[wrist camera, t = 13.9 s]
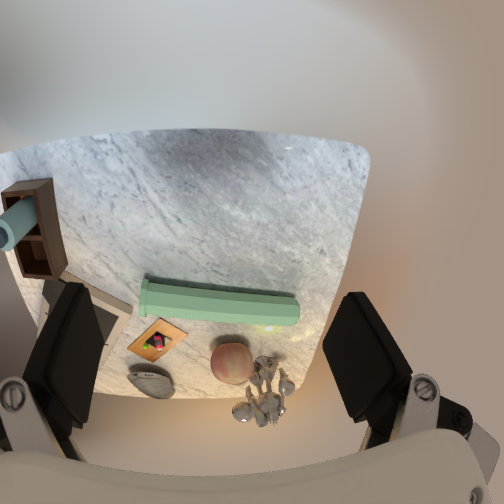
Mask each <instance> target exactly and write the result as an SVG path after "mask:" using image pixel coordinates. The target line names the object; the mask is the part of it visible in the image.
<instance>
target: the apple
mask: <svg viewBox="0 0 504 504" xmlns="http://www.w3.org/2000/svg"><path fill="white" fill-rule="evenodd" d="M253 366H254V361H253V357H252V354H251V352H250V351H249V349H248V348H247V347H246V346H244V345H243V344H240V343H228V344H222V345H220V346H218V347H217V348H216V349H215V350H214V352H213V354H212V356H211V369H212V372H213V374H214V376H215V377H216V378H217V379H218V380H220V381H222V382H224V383H230V384H238V383H241V382H244V381H245V380H247V379H248V378H249V377H250V376H251V374H252V372H253Z"/></svg>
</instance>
